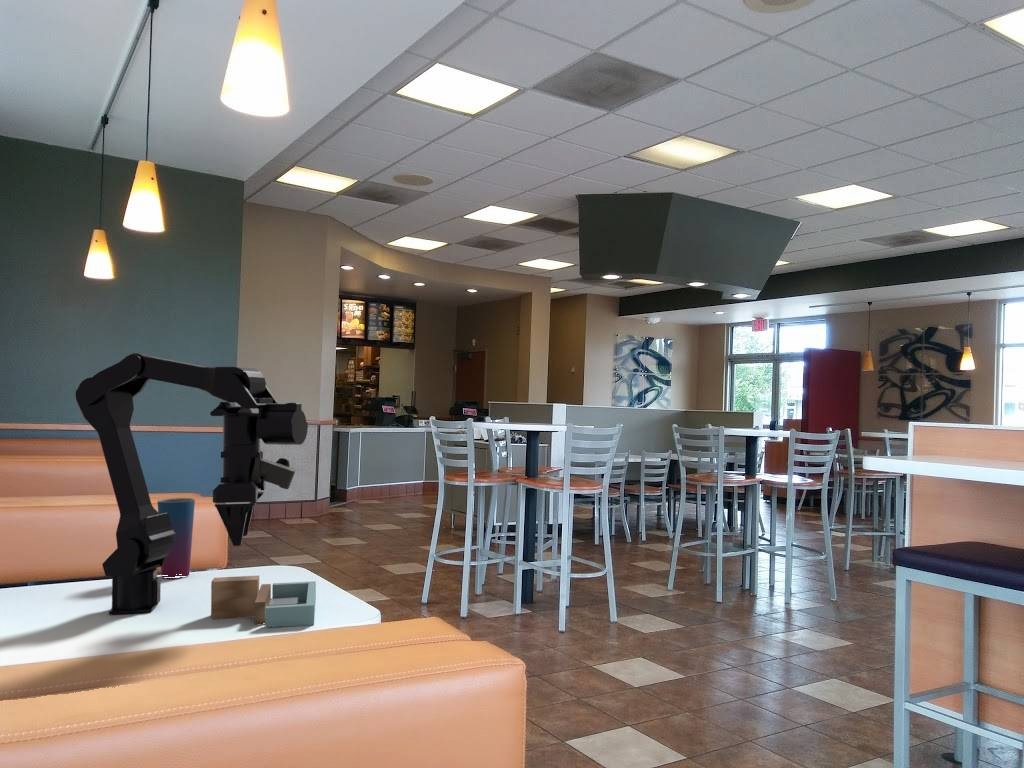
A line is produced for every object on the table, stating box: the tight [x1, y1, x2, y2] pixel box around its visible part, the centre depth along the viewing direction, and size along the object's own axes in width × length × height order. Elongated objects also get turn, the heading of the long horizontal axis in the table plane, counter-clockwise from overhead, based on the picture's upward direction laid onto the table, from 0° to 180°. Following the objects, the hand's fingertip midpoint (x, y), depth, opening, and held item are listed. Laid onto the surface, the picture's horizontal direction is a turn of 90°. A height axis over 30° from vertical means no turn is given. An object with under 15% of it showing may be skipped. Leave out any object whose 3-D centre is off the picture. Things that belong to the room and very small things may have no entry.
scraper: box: [210, 575, 272, 626], centre depth 124 cm, size 8×12×6 cm
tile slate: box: [269, 597, 299, 606], centre depth 129 cm, size 4×4×2 cm
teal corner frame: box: [264, 580, 317, 629], centre depth 126 cm, size 7×16×3 cm, turn 13°
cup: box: [157, 497, 196, 578], centre depth 152 cm, size 7×7×15 cm
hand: (240, 540), depth 125 cm, fingers open, 9 cm apart
